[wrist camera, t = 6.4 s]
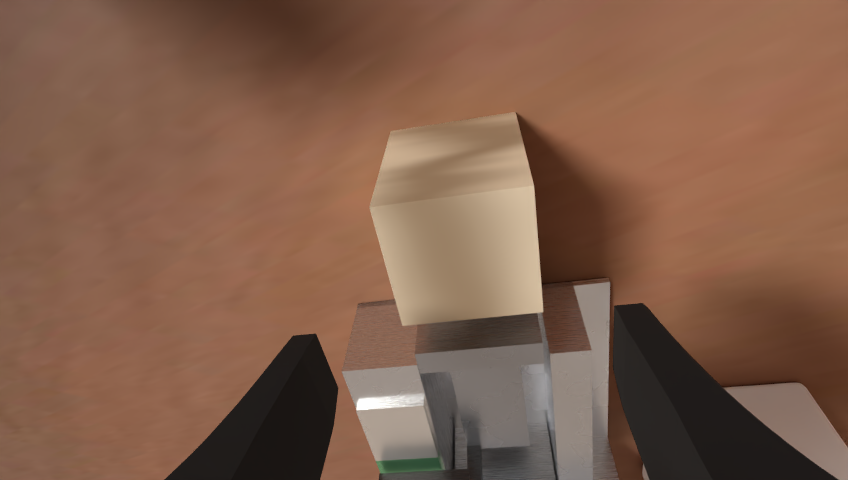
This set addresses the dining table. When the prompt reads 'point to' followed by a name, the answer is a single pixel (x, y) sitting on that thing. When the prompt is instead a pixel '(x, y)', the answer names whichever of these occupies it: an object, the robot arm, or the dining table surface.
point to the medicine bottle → (795, 423)
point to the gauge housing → (542, 383)
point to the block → (459, 221)
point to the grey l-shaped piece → (481, 382)
